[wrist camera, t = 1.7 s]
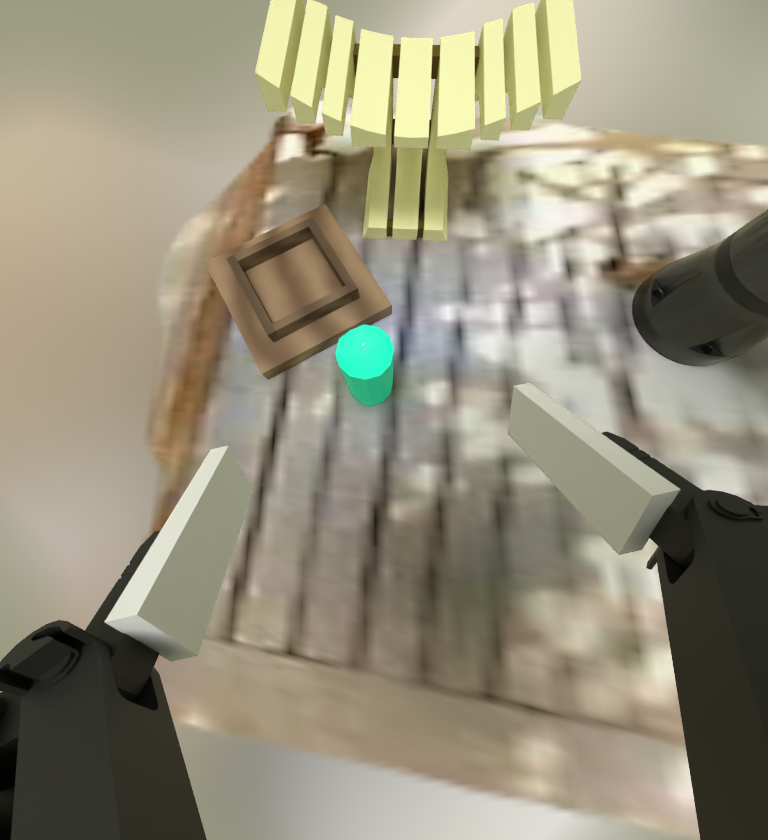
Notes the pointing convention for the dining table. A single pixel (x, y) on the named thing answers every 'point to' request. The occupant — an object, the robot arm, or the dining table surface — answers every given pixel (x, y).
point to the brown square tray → (297, 290)
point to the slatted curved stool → (417, 94)
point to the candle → (367, 363)
